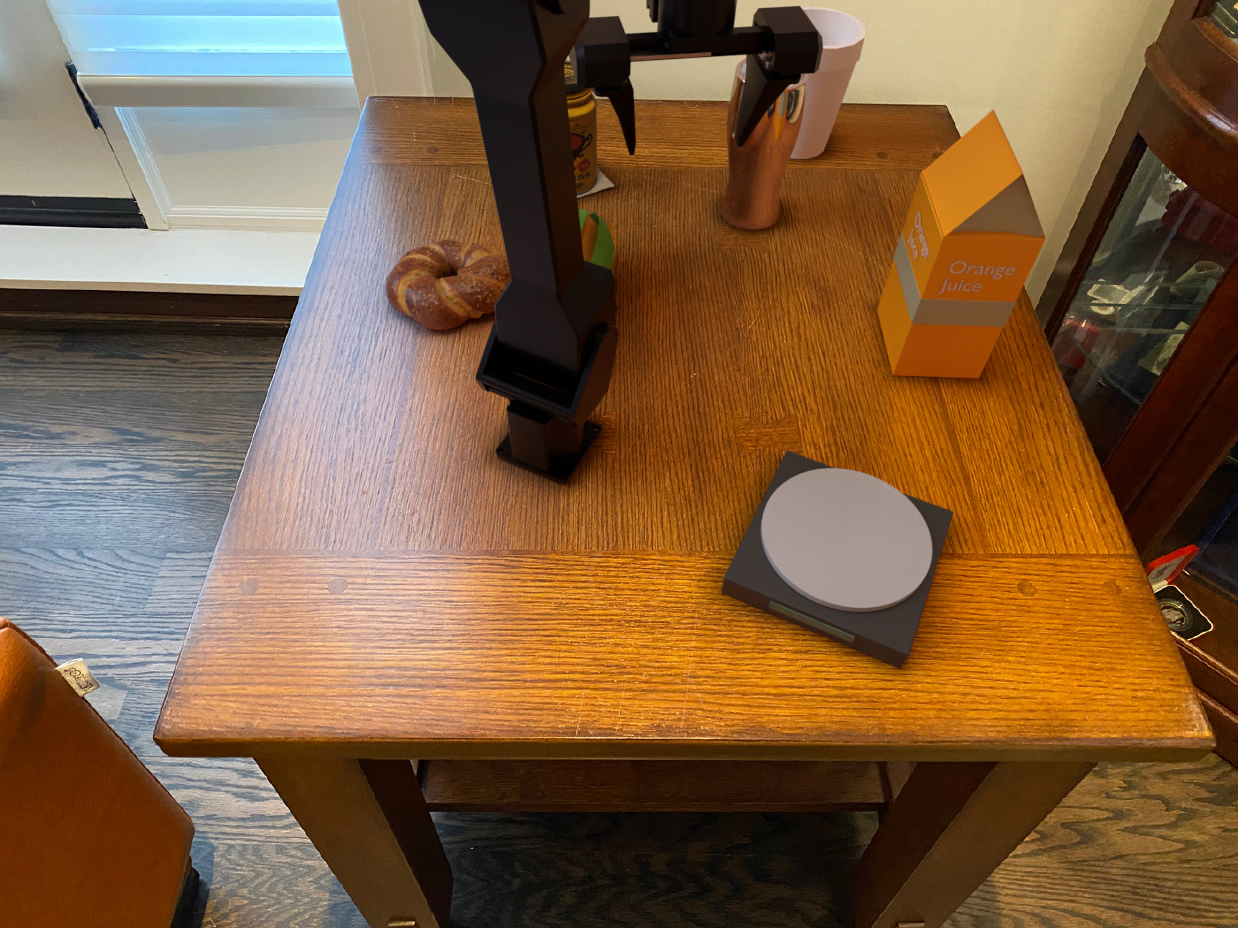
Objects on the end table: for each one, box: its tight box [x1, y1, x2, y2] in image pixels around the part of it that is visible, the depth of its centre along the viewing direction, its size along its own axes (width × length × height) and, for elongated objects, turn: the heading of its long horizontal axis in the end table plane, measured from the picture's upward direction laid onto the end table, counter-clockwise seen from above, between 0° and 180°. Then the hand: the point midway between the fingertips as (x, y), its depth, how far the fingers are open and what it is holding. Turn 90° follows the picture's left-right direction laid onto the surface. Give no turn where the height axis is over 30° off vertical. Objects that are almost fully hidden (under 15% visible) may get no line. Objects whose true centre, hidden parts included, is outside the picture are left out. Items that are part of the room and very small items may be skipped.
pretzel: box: [385, 238, 510, 331], centre depth 80 cm, size 12×11×4 cm
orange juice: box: [876, 108, 1047, 379], centre depth 70 cm, size 8×9×20 cm
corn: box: [578, 208, 616, 270], centre depth 77 cm, size 7×8×20 cm
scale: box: [720, 450, 954, 669], centre depth 62 cm, size 13×13×3 cm
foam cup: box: [790, 6, 867, 160], centre depth 94 cm, size 10×9×13 cm
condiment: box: [564, 59, 615, 199], centre depth 89 cm, size 7×8×12 cm
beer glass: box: [720, 57, 808, 231], centre depth 84 cm, size 7×7×15 cm
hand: (685, 148), depth 72 cm, fingers open, 9 cm apart
